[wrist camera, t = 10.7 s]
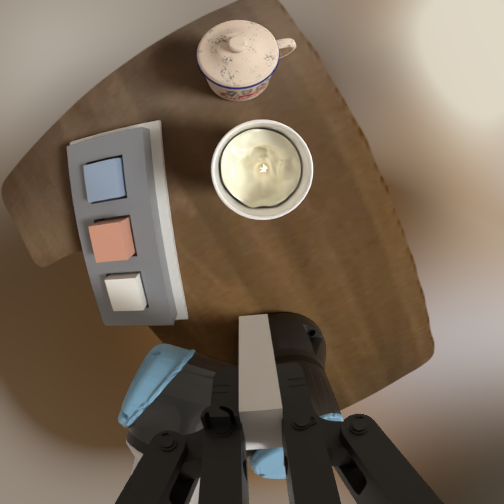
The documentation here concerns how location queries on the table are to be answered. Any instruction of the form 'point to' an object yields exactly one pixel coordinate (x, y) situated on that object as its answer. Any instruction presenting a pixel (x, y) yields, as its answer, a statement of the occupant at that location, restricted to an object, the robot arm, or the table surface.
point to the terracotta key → (112, 240)
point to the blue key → (105, 180)
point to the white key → (126, 291)
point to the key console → (131, 222)
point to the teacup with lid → (240, 58)
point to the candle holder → (262, 169)
